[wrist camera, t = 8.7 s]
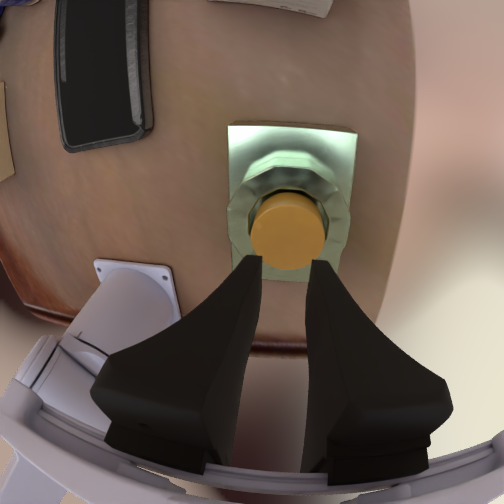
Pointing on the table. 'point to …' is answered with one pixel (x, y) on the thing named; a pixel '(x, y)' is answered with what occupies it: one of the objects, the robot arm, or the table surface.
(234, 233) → the release button base
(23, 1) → the pill bottle
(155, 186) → the table surface
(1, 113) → the plate
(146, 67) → the phone
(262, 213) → the release button
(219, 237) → the table surface
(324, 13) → the white packaging box
